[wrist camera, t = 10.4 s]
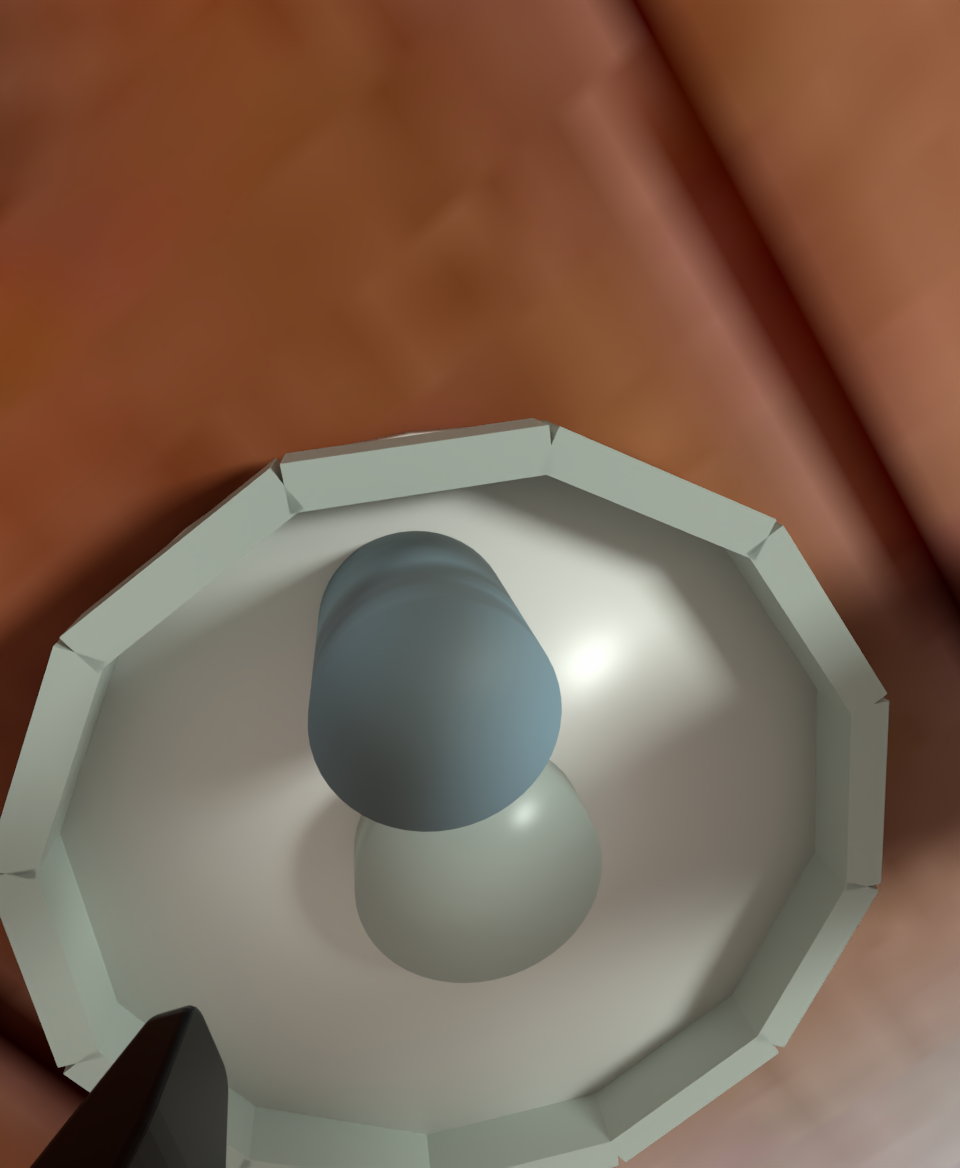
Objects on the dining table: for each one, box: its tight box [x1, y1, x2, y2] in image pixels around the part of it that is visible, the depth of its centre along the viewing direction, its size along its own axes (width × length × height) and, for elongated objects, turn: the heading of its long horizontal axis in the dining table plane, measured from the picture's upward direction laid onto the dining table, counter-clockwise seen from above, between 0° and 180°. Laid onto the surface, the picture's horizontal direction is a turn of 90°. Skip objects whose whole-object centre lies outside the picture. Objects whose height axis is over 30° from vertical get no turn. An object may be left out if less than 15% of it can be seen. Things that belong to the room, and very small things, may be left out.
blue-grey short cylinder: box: [308, 531, 562, 832], centre depth 16 cm, size 4×4×5 cm
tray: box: [0, 418, 889, 1168], centre depth 20 cm, size 21×21×2 cm
